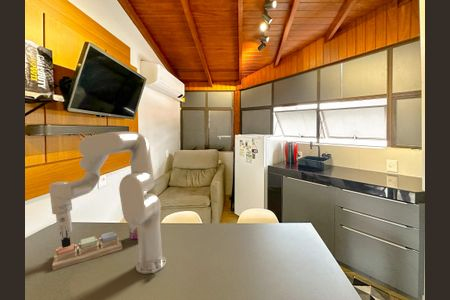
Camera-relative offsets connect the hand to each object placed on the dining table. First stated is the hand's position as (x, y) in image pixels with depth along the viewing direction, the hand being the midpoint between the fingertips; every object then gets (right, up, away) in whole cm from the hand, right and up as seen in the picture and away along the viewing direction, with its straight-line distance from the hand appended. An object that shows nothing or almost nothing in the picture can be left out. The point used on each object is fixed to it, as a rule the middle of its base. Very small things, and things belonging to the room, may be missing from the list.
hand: (66, 246), depth 105 cm
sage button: (+7, -2, +5) cm, 9 cm away
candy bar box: (+28, -4, +20) cm, 34 cm away
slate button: (+15, -2, +10) cm, 18 cm away
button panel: (+7, -6, +6) cm, 11 cm away
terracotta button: (0, -4, 0) cm, 4 cm away
